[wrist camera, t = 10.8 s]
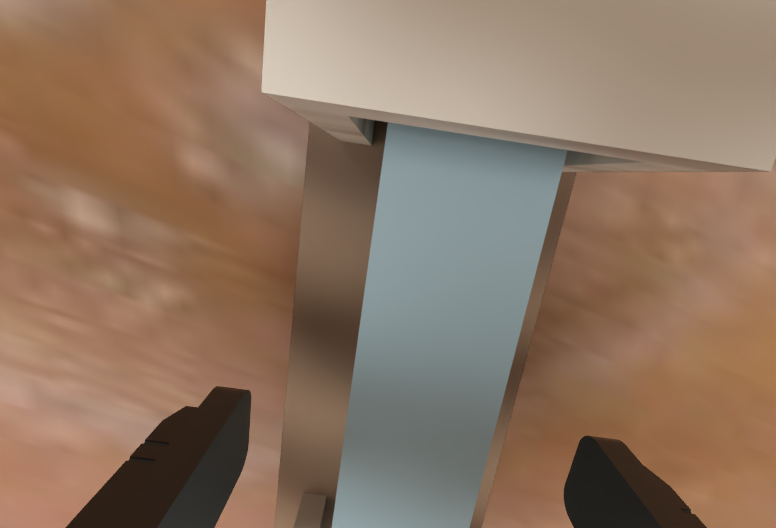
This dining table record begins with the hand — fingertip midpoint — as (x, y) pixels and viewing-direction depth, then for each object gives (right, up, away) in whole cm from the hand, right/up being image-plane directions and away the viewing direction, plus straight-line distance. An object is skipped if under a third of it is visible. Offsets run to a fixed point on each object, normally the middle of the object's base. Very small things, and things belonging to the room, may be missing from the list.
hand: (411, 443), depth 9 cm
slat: (0, +1, +5) cm, 5 cm away
